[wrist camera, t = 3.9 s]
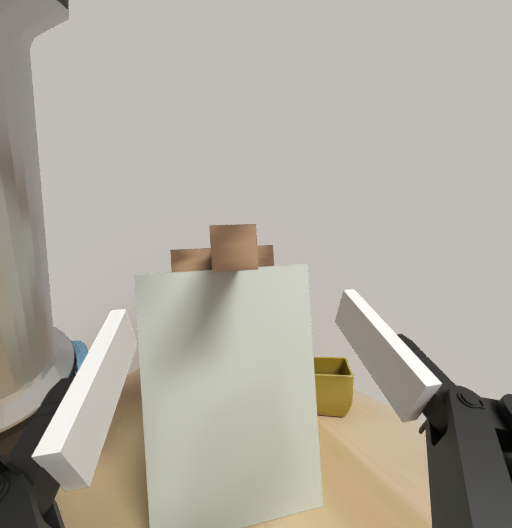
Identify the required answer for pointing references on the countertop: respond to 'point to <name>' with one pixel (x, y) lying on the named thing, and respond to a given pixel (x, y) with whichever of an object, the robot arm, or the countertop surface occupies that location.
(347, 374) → the flower pot
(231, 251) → the T-bar
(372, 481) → the countertop surface
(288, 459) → the stand
